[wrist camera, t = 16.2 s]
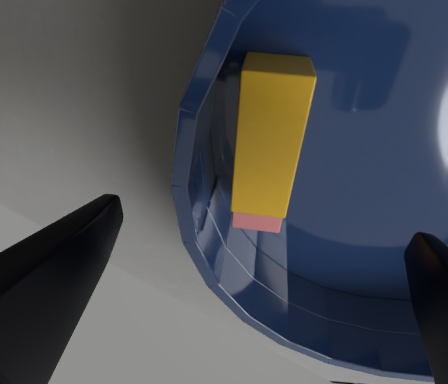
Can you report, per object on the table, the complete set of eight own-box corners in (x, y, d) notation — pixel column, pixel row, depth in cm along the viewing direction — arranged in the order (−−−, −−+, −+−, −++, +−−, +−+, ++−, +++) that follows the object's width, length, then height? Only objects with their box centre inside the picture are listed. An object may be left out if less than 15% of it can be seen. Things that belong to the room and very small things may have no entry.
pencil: (281, 202, 16) (281, 235, 14) (234, 196, 16) (228, 228, 14) (311, 56, 11) (317, 76, 10) (246, 50, 12) (240, 69, 10)
